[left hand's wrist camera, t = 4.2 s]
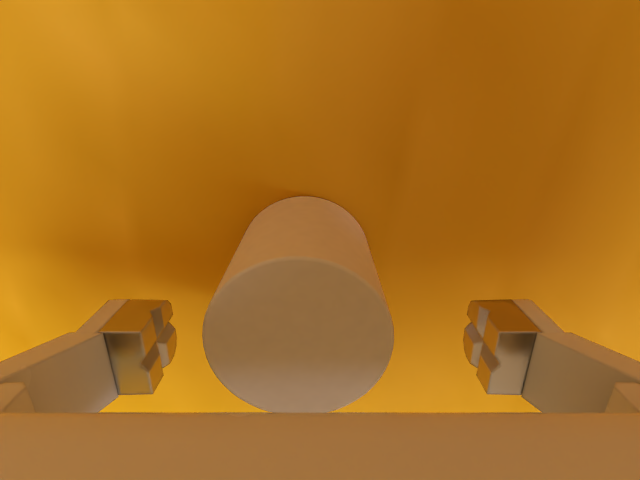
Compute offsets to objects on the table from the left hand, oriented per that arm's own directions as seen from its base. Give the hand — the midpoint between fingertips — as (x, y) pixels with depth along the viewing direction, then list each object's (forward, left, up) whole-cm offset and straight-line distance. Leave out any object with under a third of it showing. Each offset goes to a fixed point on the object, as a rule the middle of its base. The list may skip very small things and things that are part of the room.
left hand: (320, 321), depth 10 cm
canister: (-1, 0, -4) cm, 4 cm away
